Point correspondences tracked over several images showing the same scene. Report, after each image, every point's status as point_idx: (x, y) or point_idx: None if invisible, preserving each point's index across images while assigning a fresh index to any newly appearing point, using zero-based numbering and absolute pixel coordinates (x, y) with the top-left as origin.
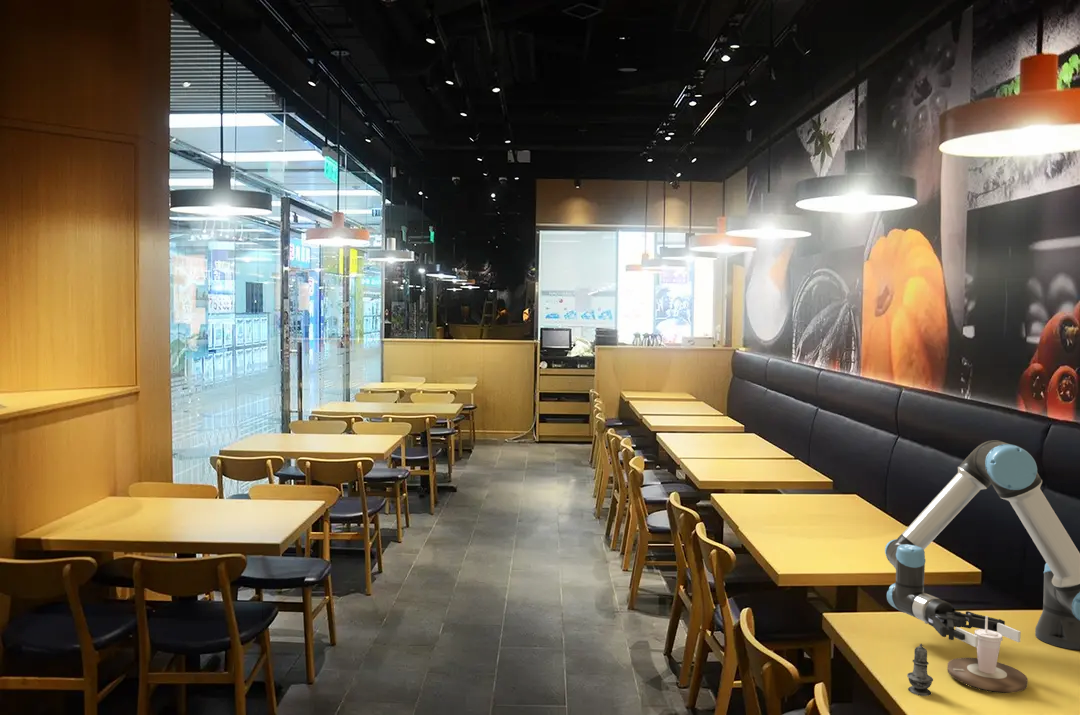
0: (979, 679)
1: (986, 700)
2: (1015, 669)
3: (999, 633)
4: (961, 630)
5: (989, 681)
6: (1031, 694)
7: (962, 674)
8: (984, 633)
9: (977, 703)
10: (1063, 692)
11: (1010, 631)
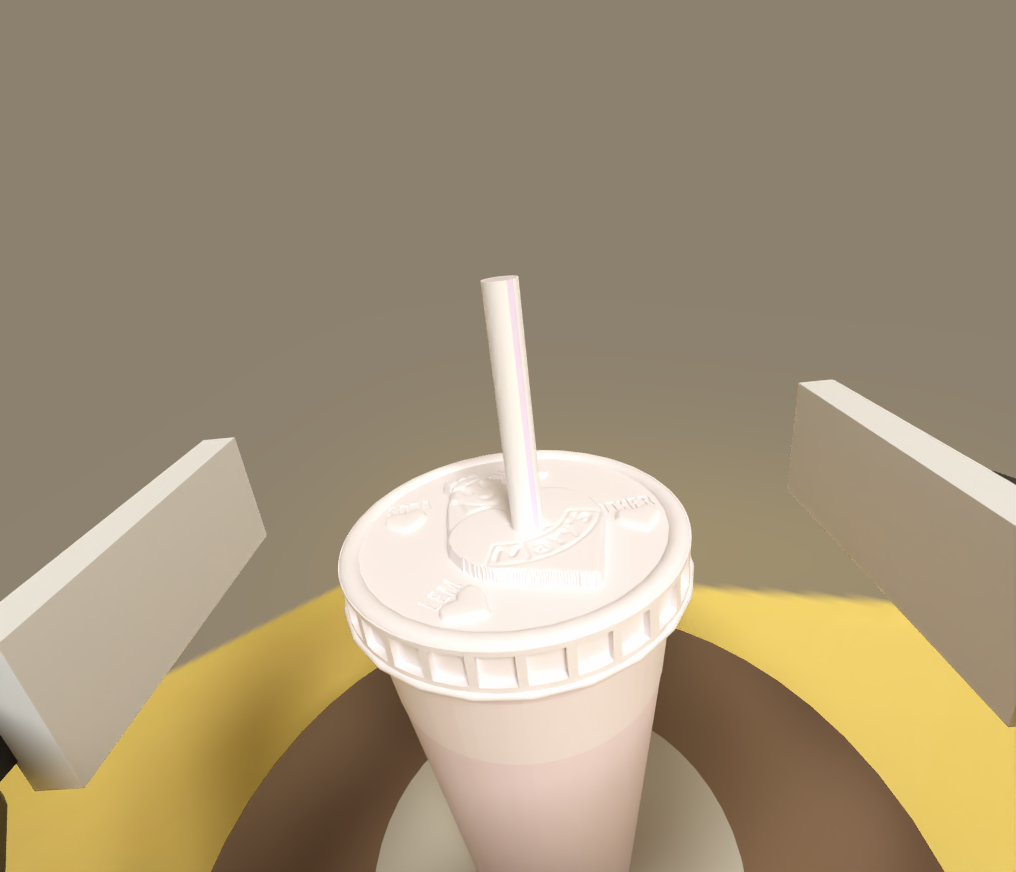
0: (740, 718)
1: (768, 643)
2: (243, 839)
3: (366, 515)
4: (994, 479)
5: (677, 680)
6: None
7: (869, 840)
8: (586, 503)
9: (846, 623)
10: (239, 661)
11: (194, 517)
